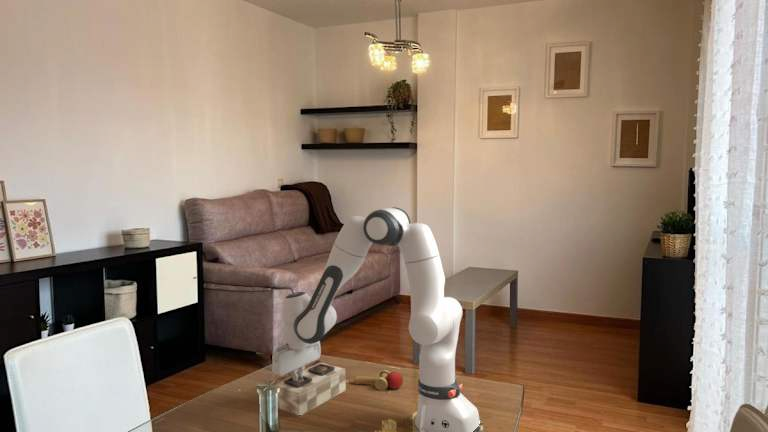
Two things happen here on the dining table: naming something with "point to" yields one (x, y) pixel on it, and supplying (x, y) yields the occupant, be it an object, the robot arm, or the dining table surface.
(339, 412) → the dining table surface
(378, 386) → the kendama
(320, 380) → the collar block
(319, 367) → the peg right
